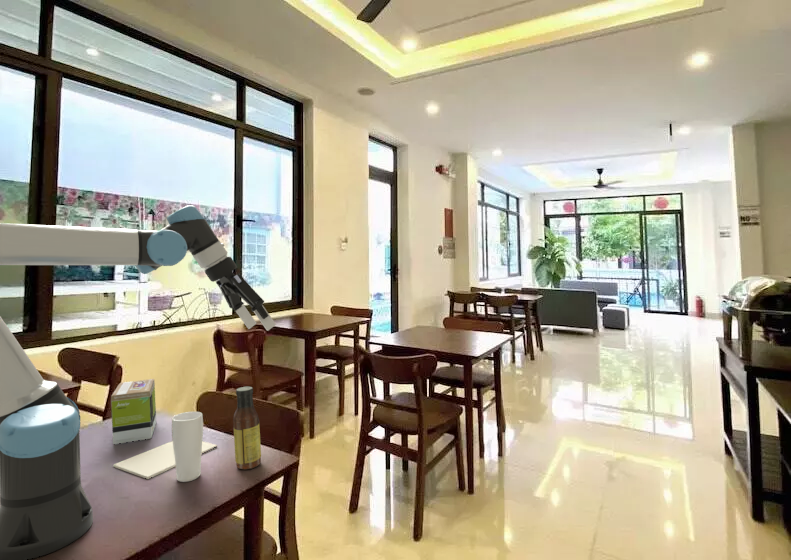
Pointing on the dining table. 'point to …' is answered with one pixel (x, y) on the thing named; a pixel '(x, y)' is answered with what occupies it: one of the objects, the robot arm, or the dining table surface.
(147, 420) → the tea box
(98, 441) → the dining table surface
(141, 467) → the placemat
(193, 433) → the white cup
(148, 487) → the dining table surface
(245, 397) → the sauce bottle
